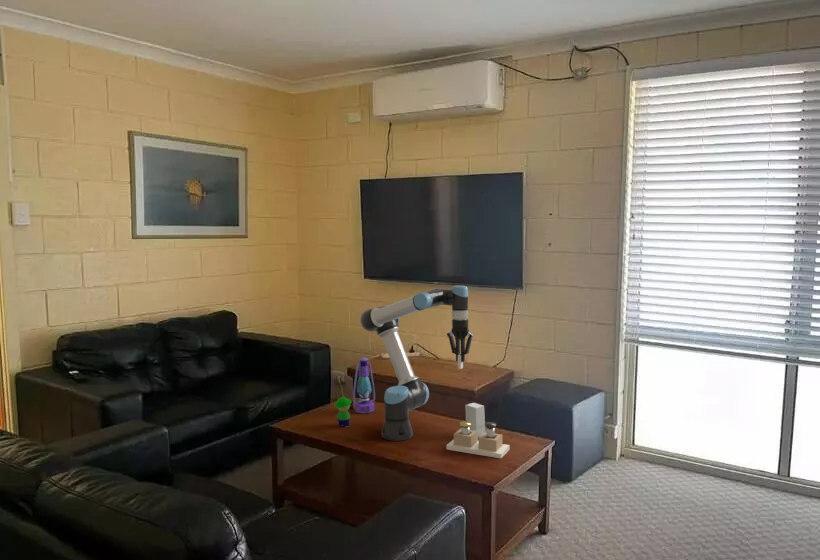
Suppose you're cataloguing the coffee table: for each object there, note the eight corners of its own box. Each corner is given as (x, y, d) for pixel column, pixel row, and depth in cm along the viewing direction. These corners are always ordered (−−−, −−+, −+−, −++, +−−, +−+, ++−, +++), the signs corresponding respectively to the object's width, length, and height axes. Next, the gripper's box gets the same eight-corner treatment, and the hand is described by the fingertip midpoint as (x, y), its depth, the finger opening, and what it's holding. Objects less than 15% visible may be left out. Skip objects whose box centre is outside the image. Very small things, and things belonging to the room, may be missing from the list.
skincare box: (485, 435, 301) (485, 405, 300) (476, 438, 298) (475, 408, 297) (474, 431, 308) (474, 401, 307) (465, 433, 305) (464, 403, 304)
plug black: (483, 445, 279) (483, 424, 278) (487, 441, 284) (486, 421, 283) (494, 446, 277) (494, 426, 276) (497, 443, 282) (497, 422, 281)
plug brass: (458, 443, 285) (458, 423, 284) (462, 440, 289) (462, 420, 289) (468, 445, 282) (468, 425, 282) (473, 441, 287) (472, 422, 286)
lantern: (369, 406, 352) (368, 354, 349) (380, 411, 342) (379, 357, 339) (348, 410, 345) (347, 357, 342) (358, 415, 335) (357, 360, 332)
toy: (355, 424, 320) (355, 396, 319) (345, 429, 313) (344, 400, 312) (342, 421, 325) (341, 393, 324) (331, 426, 318) (330, 397, 316)
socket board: (446, 449, 284) (446, 434, 283) (456, 441, 295) (456, 426, 294) (501, 458, 272) (501, 442, 272) (509, 449, 283) (509, 434, 282)
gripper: (444, 319, 291) (444, 368, 293) (470, 320, 285) (470, 371, 287) (450, 316, 298) (450, 365, 300) (476, 318, 292) (476, 368, 294)
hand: (460, 368), depth 294 cm, fingers closed
